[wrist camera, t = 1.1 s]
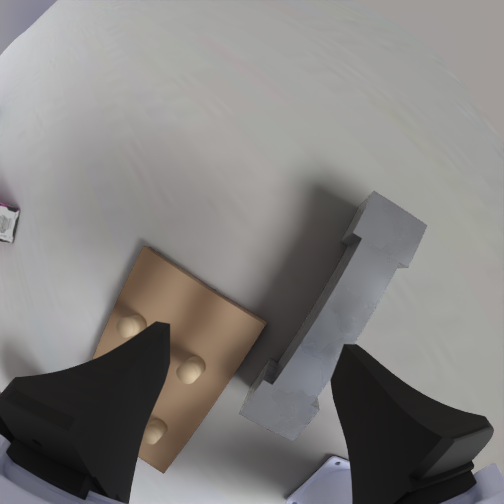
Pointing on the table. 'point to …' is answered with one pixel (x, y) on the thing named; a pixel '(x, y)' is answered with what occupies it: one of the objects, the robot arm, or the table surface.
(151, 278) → the peg rack
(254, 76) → the table surface
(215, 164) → the table surface
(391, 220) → the gray notched long block
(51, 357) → the table surface
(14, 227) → the candy bar box
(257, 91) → the table surface
